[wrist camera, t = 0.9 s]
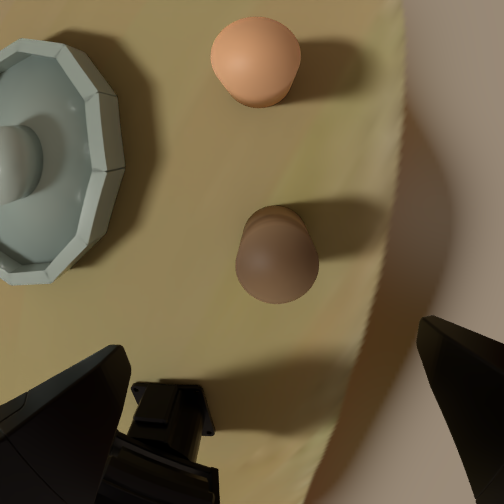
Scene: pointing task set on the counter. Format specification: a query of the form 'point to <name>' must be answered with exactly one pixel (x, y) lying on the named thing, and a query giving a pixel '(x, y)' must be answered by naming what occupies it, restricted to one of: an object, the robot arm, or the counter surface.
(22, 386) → the counter surface
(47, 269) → the groove tray
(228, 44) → the brown egg
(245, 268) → the brown rounded short cylinder
